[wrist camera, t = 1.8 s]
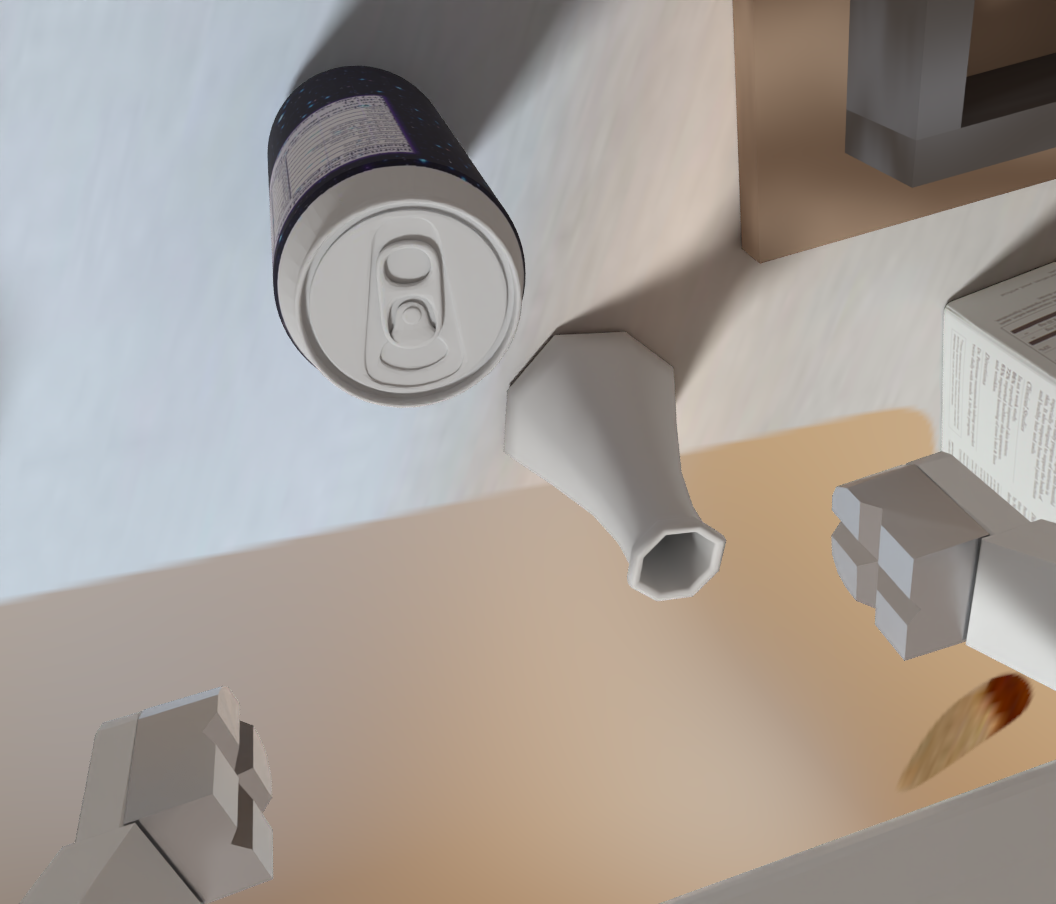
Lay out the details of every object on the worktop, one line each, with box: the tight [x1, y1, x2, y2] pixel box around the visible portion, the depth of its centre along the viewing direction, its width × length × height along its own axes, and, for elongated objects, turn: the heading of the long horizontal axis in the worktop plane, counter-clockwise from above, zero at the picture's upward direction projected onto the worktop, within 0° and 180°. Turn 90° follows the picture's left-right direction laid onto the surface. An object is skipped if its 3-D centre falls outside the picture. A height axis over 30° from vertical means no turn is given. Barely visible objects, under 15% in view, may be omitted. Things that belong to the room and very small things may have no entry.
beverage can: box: [268, 66, 525, 408], centre depth 24 cm, size 6×6×12 cm
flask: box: [504, 332, 726, 601], centre depth 32 cm, size 7×7×10 cm
